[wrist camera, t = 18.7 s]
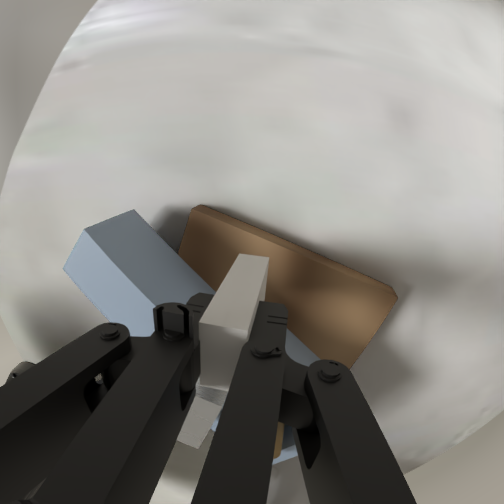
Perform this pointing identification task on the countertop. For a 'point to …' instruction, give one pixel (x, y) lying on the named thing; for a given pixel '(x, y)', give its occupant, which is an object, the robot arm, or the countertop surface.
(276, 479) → the mug
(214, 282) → the board
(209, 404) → the block
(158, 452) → the robot arm
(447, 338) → the countertop surface
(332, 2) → the countertop surface
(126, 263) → the link
